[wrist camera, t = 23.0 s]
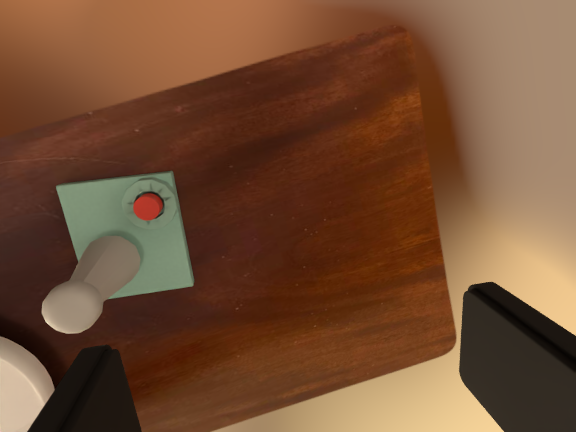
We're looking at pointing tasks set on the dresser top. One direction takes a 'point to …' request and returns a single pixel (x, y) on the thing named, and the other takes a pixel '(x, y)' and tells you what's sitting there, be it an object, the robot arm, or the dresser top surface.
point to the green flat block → (132, 227)
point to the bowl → (21, 387)
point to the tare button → (147, 206)
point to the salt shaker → (91, 284)
